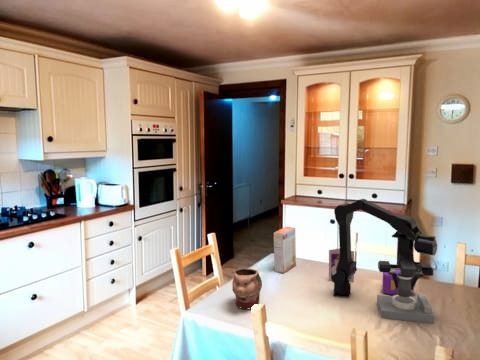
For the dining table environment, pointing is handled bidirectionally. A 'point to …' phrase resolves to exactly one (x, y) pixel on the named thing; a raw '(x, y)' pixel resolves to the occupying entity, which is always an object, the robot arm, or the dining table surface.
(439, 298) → the dining table surface
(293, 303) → the dining table surface
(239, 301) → the decorative planter
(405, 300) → the mount
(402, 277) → the lens
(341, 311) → the dining table surface
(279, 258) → the cracker box
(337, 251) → the purple printed box
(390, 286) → the toy camera
